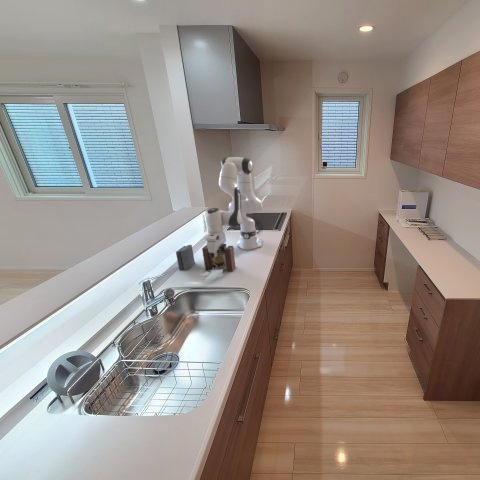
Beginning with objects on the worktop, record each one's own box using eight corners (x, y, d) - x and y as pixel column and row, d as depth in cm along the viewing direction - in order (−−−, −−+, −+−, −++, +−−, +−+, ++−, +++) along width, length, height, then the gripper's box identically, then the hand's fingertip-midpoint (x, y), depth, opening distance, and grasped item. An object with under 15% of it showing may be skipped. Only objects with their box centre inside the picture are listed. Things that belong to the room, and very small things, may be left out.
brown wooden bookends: (209, 266, 169) (206, 244, 163) (235, 267, 169) (233, 245, 163) (205, 270, 164) (202, 248, 158) (232, 271, 163) (230, 249, 158)
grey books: (187, 263, 173) (183, 244, 168) (194, 263, 173) (191, 244, 168) (179, 269, 164) (175, 250, 159) (187, 270, 164) (183, 250, 159)
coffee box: (213, 270, 162) (209, 247, 157) (215, 266, 168) (211, 243, 163) (227, 269, 163) (224, 246, 158) (229, 265, 169) (226, 243, 164)
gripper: (217, 228, 167) (220, 247, 172) (204, 239, 148) (207, 260, 153) (227, 228, 167) (229, 247, 172) (214, 239, 148) (217, 260, 153)
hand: (218, 253), depth 162 cm, fingers closed on coffee box, 7 cm apart
